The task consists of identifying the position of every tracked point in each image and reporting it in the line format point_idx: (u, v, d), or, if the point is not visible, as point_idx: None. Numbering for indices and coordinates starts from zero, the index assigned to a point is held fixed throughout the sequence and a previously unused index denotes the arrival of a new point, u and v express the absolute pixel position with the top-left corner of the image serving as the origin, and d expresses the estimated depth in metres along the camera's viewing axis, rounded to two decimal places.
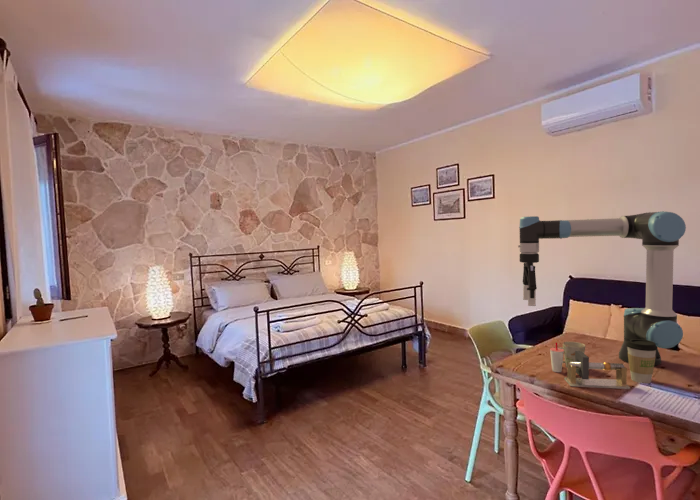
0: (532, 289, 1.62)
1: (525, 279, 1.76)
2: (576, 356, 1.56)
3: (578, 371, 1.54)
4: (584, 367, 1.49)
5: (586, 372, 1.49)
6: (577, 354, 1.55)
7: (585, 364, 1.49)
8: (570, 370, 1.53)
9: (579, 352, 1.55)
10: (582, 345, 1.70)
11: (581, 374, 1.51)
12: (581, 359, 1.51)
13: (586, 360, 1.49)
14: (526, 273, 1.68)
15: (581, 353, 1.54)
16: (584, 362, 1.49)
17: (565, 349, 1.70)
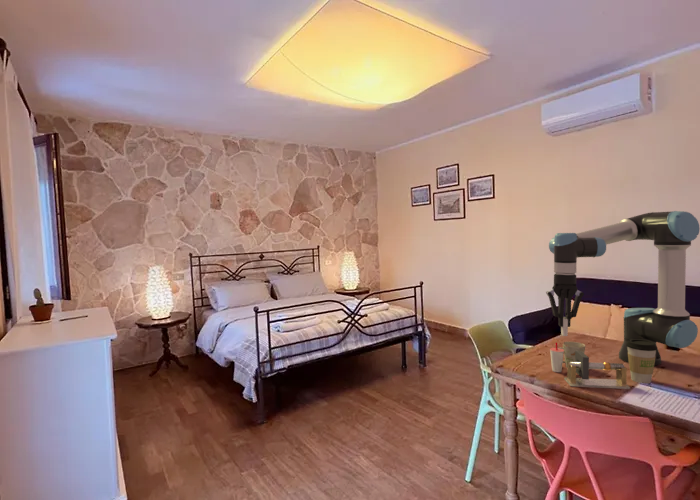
0: (556, 316, 1.54)
1: None
2: (576, 356, 1.56)
3: (578, 371, 1.54)
4: (584, 367, 1.49)
5: (586, 372, 1.49)
6: (577, 354, 1.55)
7: (585, 364, 1.49)
8: (570, 370, 1.53)
9: (579, 352, 1.55)
10: (582, 345, 1.70)
11: (581, 374, 1.51)
12: (581, 359, 1.51)
13: (586, 360, 1.49)
14: (558, 297, 1.55)
15: (581, 353, 1.54)
16: (584, 362, 1.49)
17: (565, 349, 1.70)
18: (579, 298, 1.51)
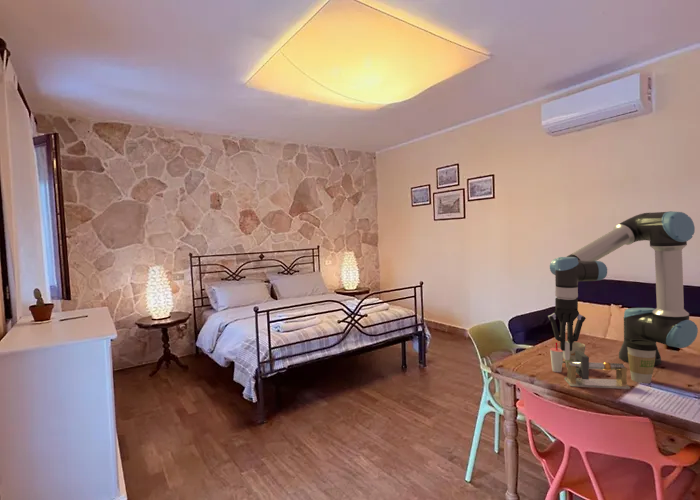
0: None
1: (567, 331, 1.54)
2: (576, 356, 1.56)
3: (578, 371, 1.54)
4: (584, 367, 1.49)
5: (586, 372, 1.49)
6: (577, 354, 1.55)
7: (585, 364, 1.49)
8: (570, 370, 1.53)
9: (579, 352, 1.55)
10: (582, 345, 1.70)
11: (581, 374, 1.51)
12: (581, 359, 1.51)
13: (586, 360, 1.49)
14: None
15: (581, 353, 1.54)
16: (584, 362, 1.49)
17: None
18: (581, 322, 1.51)
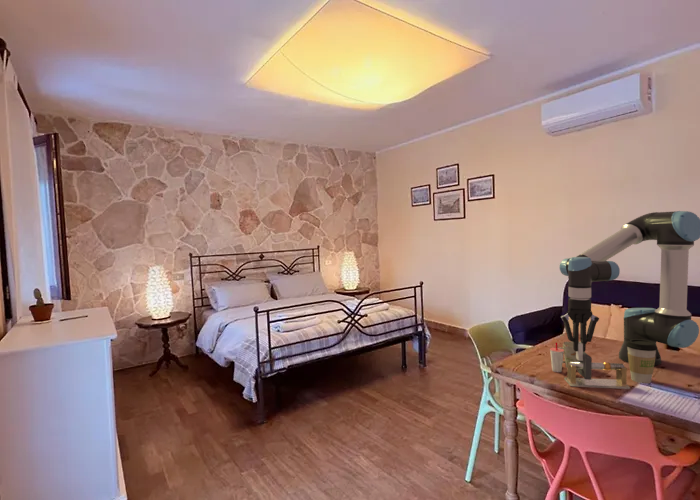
0: (571, 340, 1.54)
1: (580, 332, 1.53)
2: None
3: (581, 371, 1.54)
4: (587, 367, 1.49)
5: (589, 372, 1.49)
6: None
7: (588, 364, 1.49)
8: (570, 370, 1.53)
9: None
10: None
11: (584, 374, 1.51)
12: (584, 359, 1.51)
13: (589, 360, 1.49)
14: None
15: (584, 353, 1.53)
16: (587, 362, 1.49)
17: (565, 349, 1.70)
18: (594, 323, 1.50)
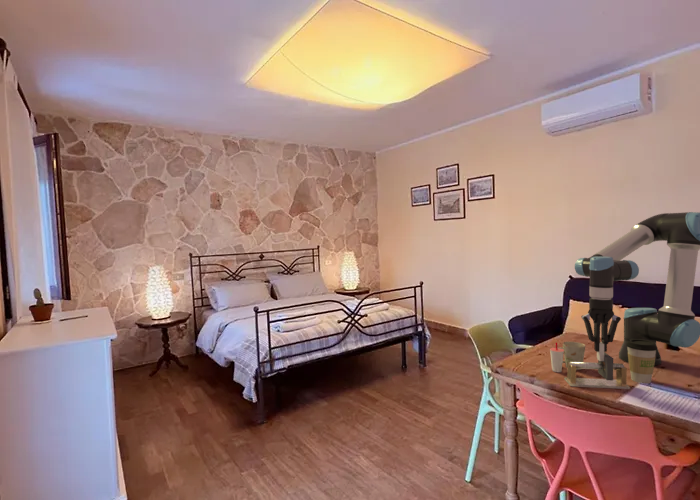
0: (592, 341, 1.52)
1: (601, 332, 1.52)
2: None
3: (602, 372, 1.52)
4: (608, 368, 1.48)
5: (610, 373, 1.48)
6: None
7: (609, 365, 1.48)
8: (570, 370, 1.53)
9: None
10: (582, 345, 1.70)
11: (605, 375, 1.49)
12: (605, 360, 1.49)
13: (610, 361, 1.48)
14: (593, 321, 1.53)
15: (605, 354, 1.52)
16: (608, 363, 1.48)
17: (565, 349, 1.70)
18: (616, 323, 1.49)
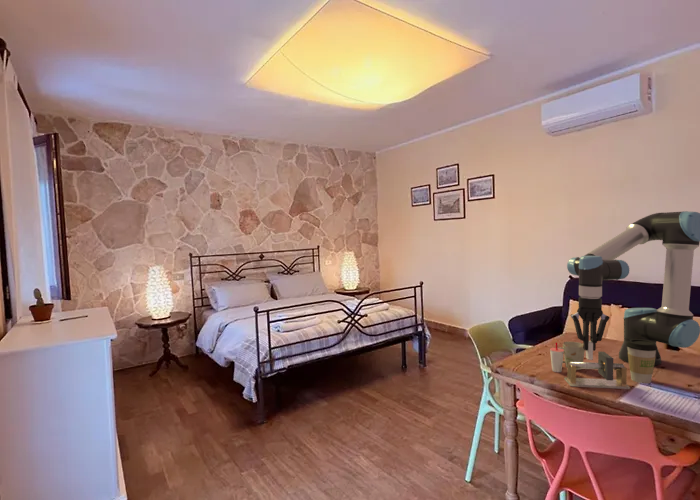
0: (581, 339, 1.53)
1: (590, 331, 1.52)
2: (599, 357, 1.54)
3: (602, 372, 1.52)
4: (608, 368, 1.48)
5: (610, 373, 1.48)
6: (600, 355, 1.53)
7: (609, 365, 1.48)
8: (570, 370, 1.53)
9: (602, 353, 1.53)
10: (582, 345, 1.70)
11: (605, 375, 1.49)
12: (605, 360, 1.49)
13: (610, 361, 1.48)
14: None
15: (605, 354, 1.52)
16: (608, 363, 1.48)
17: (565, 349, 1.70)
18: (604, 322, 1.50)
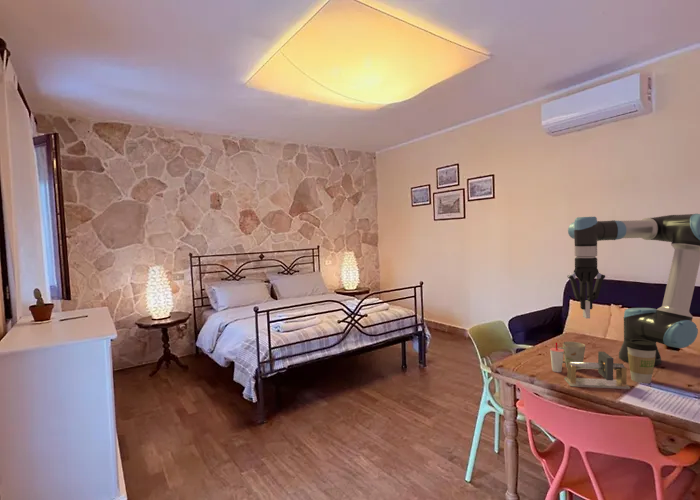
0: (578, 299, 1.56)
1: (587, 290, 1.56)
2: (599, 357, 1.54)
3: (602, 372, 1.52)
4: (608, 368, 1.48)
5: (610, 373, 1.48)
6: (600, 355, 1.53)
7: (609, 365, 1.48)
8: (570, 370, 1.53)
9: (602, 353, 1.53)
10: (582, 345, 1.70)
11: (605, 375, 1.49)
12: (605, 360, 1.49)
13: (610, 361, 1.48)
14: (579, 280, 1.57)
15: (605, 354, 1.52)
16: (608, 363, 1.48)
17: (565, 349, 1.70)
18: (600, 280, 1.53)
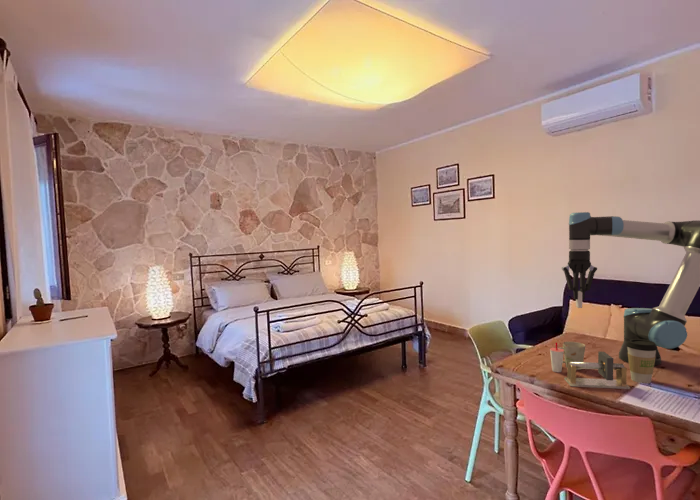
0: None
1: (580, 281, 1.66)
2: (599, 357, 1.54)
3: (602, 372, 1.52)
4: (608, 368, 1.48)
5: (610, 373, 1.48)
6: (600, 355, 1.53)
7: (609, 365, 1.48)
8: (570, 370, 1.53)
9: (602, 353, 1.53)
10: (582, 345, 1.70)
11: (605, 375, 1.49)
12: (605, 360, 1.49)
13: (610, 361, 1.48)
14: None
15: (605, 354, 1.52)
16: (608, 363, 1.48)
17: (565, 349, 1.70)
18: (593, 272, 1.63)
